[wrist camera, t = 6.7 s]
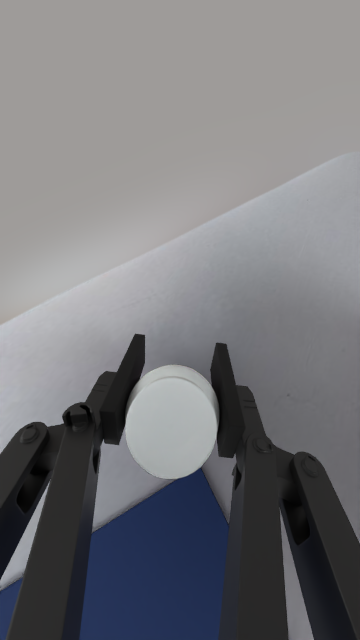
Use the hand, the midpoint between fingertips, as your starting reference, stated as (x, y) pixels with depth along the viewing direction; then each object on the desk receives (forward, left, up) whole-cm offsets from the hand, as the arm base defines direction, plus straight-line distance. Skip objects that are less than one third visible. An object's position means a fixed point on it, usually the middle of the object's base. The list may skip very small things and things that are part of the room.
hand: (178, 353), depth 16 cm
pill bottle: (+2, +3, -4) cm, 5 cm away
